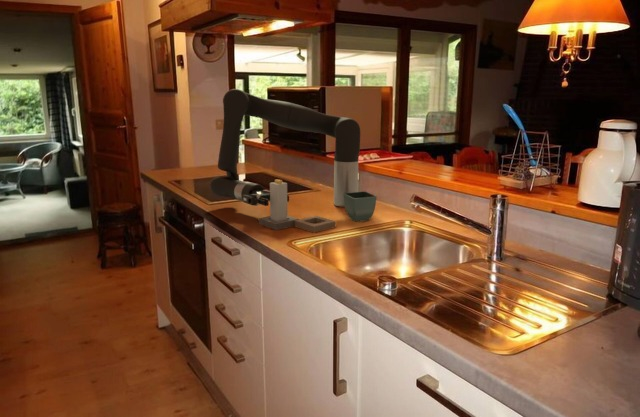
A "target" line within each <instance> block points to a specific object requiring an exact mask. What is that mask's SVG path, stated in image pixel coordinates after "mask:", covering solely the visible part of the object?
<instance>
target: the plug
mask: <svg viewBox="0 0 640 417" xmlns="http://www.w3.org/2000/svg"><path fill="white" fill-rule="evenodd" d="M269 191H270V201H269V206H270V207H269V209H270V215H269V216H270V219H271V220H274V221H277V222H279V221H283V220H288V219H287V215H288V202H287V195H288V183H287V182H285V181H284V182H283V180H282V179H274V182H269Z"/></svg>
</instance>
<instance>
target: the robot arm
mask: <svg viewBox="0 0 640 417" xmlns="http://www.w3.org/2000/svg"><path fill="white" fill-rule="evenodd" d="M222 104H223V105H222V106H223V129H222V135H221V136H222V137H221V141H220V147H219V154H218V161H217V168H218V169H219V170H220V171H223V172H225V173H226V176H216V177H213V178H212V180H210V183H209V190H210V191H211V193H212V194H213V195H215V196H217V197H223V198H230V199H234V200H237V201H240V202H242V203H245V204H247V205H250V206H255V207H256V206H257V207H258V206H260V205H261V206H264V207H269V206H270V190H268V189H265V187H264V186H263V185H262V184H259V183H254V182H252V181H251V182H250V181H243V180H239V176H238V160H239V154H240V153H239V152H240V143H241V142H240V137H241V131H242V130H241V128H242V124H243V120H244V116H247V117H254V118H259V119H262V120H264V121H267V122H269V123H271V124H274V125H275V126H276V125H277V126H280V127H282V128H287V129H290V130H295V131H300V132H307V133H319V134H323V135H326V136H329V137H332V138H334V139H335V148H334V149H335V150H334V156H333V157H334V158H333V160H334V161H333V162H334V163H333V205H334V206H336V207H341V208H342V207H344V208H345V205H344V196H343V193H353V192H360V186H361V185H360V184H361V183H360V179H359V157H360V156H359V155H360V152H361V151H360V150H361V149H360V148H361V127H360V125H359V123H358V122H357V121H356V120H355V119H354V118H350V117H347V116H345V117H343V116H337V115H329V114H326V113H322V112H319V111H317V110H314V109H312V108H310V107H308V106H307V107H306V106H303V105H300V104H297V103H293V102H289V101H282V100H275V99H269V98H268V99H266V98H263V97H259V96H256V95H253V94H250V93H248V92H246V91H243V90H241V89H240V88H232V89H230V90H227V92H225V94H224V96H223V98H222ZM289 202H290V196H289V195H288V194H287V203H289Z"/></svg>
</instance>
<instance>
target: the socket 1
mask: <svg viewBox="0 0 640 417" xmlns="http://www.w3.org/2000/svg"><path fill="white" fill-rule="evenodd" d="M287 219H288V220H283V221H279V222H277V221H274V220H271V219H270V215H269V216H263V217H259V218H258V225H260V226H263V227H265V228H269V229H272V230H275V231H279V230H284V229H288V228H291V227H295V226H294V221H295V220H299V219H300V218H298V217H294V216H290V215H288V214H287Z"/></svg>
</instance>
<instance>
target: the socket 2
mask: <svg viewBox="0 0 640 417" xmlns="http://www.w3.org/2000/svg"><path fill="white" fill-rule="evenodd" d="M298 219H299V220H295V221H294V226H293V227H295V228H297V229H298V228H299V229H301V230H305V231H307V232H310V233H318V232H323V231H325V230H329V229H333V228H336V222H337V221H336V220H334V219H330V218H327V217H321V216H319V215H313V216H308V217H304V218H298Z"/></svg>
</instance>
